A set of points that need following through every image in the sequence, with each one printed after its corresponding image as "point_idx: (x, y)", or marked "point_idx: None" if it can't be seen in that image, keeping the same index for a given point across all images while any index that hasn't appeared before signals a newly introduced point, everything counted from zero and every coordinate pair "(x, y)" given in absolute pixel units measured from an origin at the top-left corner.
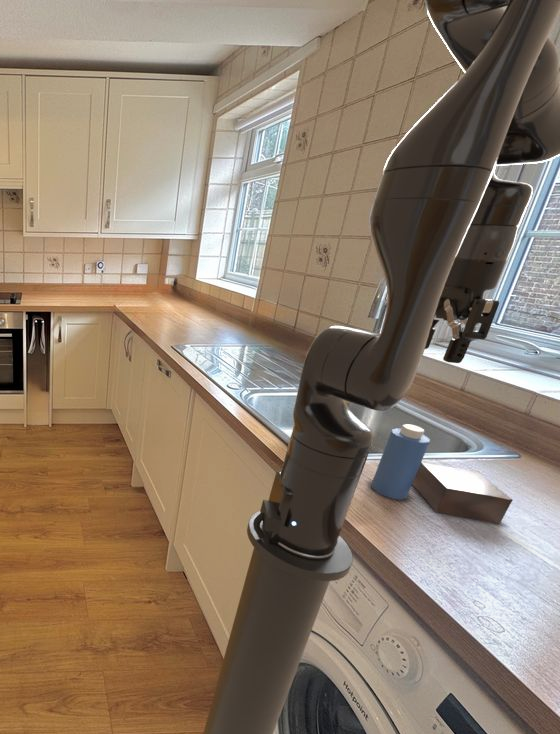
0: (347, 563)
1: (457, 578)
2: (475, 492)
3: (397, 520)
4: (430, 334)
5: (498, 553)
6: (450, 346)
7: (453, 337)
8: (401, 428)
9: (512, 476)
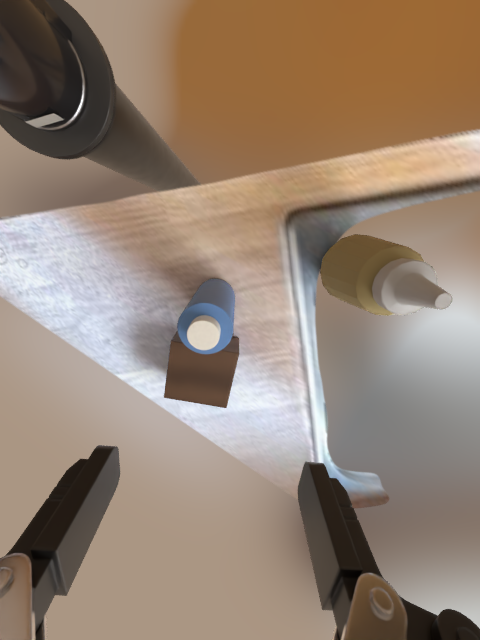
0: (14, 133)
1: (56, 269)
2: (169, 368)
3: (148, 268)
4: (315, 561)
5: (117, 340)
6: (64, 506)
7: (20, 563)
8: (212, 320)
9: (275, 455)
